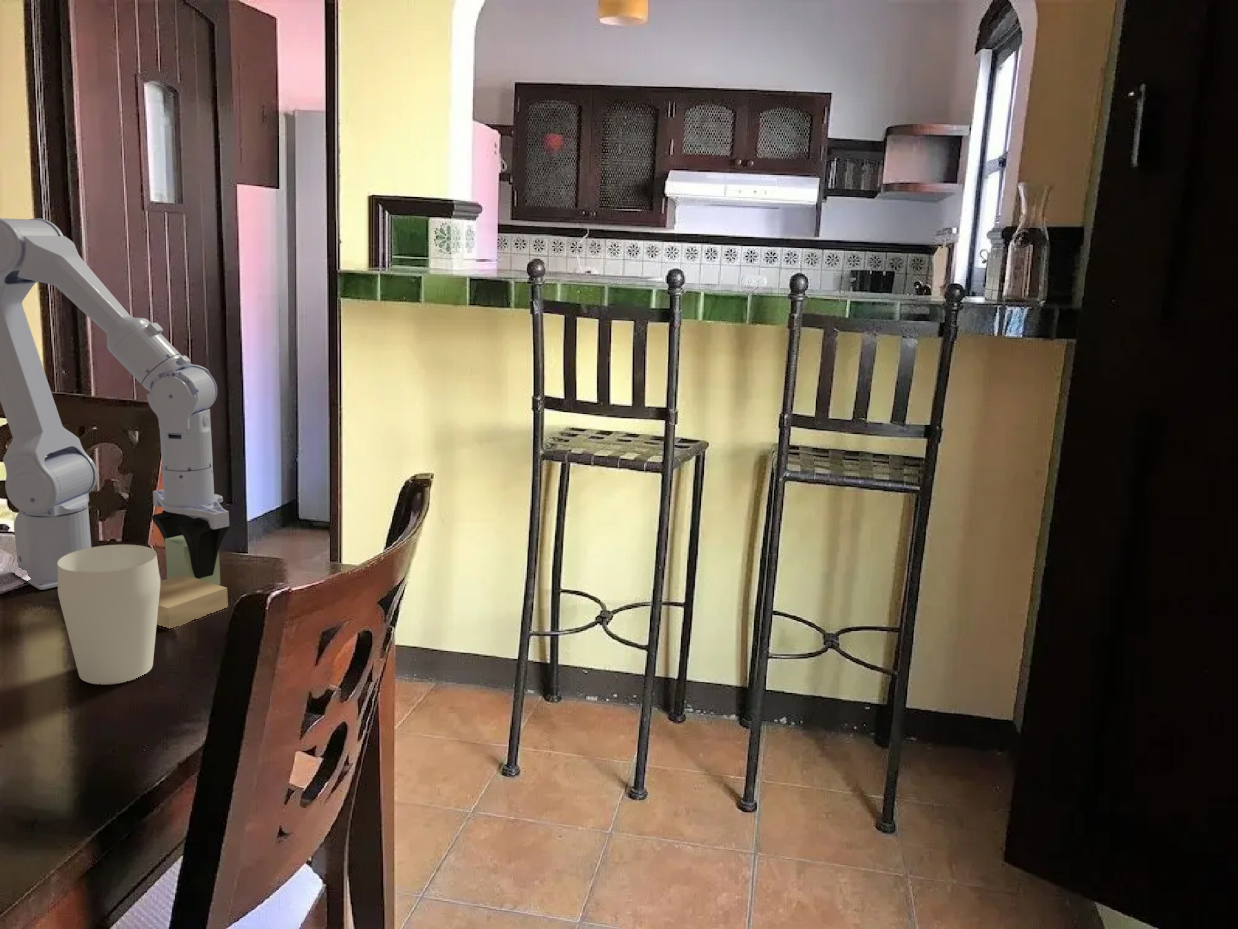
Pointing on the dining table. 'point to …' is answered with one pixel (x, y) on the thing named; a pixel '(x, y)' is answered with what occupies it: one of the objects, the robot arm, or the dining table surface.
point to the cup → (110, 610)
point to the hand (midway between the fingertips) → (193, 571)
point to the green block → (185, 560)
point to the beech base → (188, 600)
